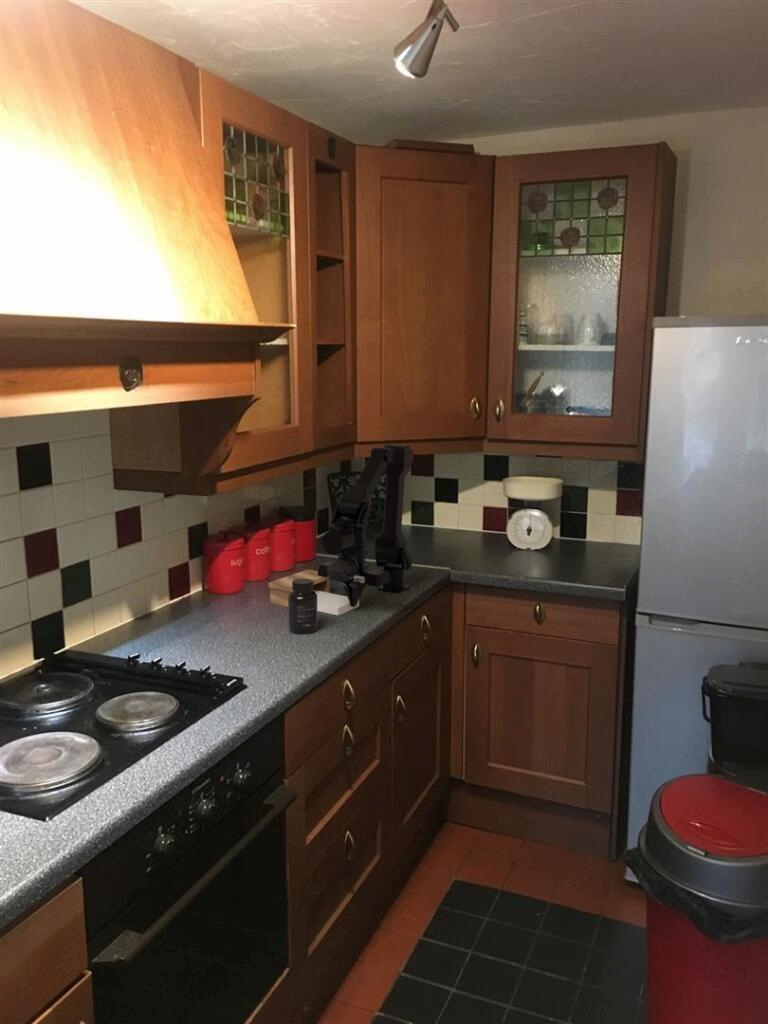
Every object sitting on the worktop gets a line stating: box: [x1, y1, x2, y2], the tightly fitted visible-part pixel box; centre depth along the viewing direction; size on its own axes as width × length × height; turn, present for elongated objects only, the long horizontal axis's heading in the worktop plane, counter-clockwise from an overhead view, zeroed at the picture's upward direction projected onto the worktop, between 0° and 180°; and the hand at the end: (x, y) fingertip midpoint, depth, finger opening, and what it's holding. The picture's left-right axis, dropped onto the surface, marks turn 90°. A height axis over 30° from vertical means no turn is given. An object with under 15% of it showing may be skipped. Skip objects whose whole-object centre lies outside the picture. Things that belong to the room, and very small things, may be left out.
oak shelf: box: [268, 569, 331, 608], centre depth 227 cm, size 16×8×6 cm, turn 147°
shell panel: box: [312, 589, 360, 616], centre depth 222 cm, size 9×16×2 cm, turn 57°
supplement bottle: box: [287, 578, 319, 635], centre depth 202 cm, size 7×7×12 cm
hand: (353, 606), depth 218 cm, fingers closed
